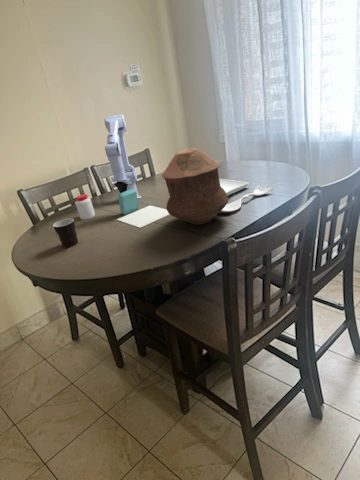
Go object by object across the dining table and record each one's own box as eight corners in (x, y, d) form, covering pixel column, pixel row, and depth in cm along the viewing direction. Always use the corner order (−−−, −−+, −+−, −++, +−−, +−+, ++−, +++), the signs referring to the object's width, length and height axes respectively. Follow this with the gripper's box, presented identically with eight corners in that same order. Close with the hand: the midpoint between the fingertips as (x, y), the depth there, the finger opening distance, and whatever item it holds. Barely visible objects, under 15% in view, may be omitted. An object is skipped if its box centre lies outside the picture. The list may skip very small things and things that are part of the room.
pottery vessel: (241, 222, 137) (233, 146, 125) (180, 240, 132) (165, 162, 120) (216, 205, 160) (207, 139, 148) (163, 219, 155) (149, 152, 143)
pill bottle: (98, 213, 180) (92, 193, 175) (90, 219, 173) (83, 198, 169) (85, 213, 182) (79, 194, 178) (77, 219, 176) (70, 199, 171)
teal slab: (120, 212, 172) (118, 194, 167) (133, 206, 177) (131, 188, 171) (125, 215, 170) (122, 196, 164) (138, 209, 174) (136, 191, 168)
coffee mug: (62, 241, 151) (55, 220, 147) (82, 238, 151) (75, 217, 147) (56, 253, 141) (48, 231, 137) (77, 249, 141) (70, 227, 137)
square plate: (214, 206, 160) (213, 198, 158) (175, 199, 180) (174, 192, 178) (250, 188, 175) (249, 181, 173) (211, 183, 195) (210, 176, 193)
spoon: (274, 193, 162) (274, 186, 161) (228, 217, 145) (227, 209, 144) (258, 191, 169) (258, 184, 168) (213, 214, 152) (212, 206, 150)
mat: (116, 220, 165) (116, 219, 165) (150, 205, 176) (150, 205, 176) (140, 228, 150) (140, 227, 150) (175, 212, 161) (175, 211, 161)
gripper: (103, 170, 169) (110, 196, 174) (118, 172, 158) (125, 200, 163) (115, 166, 172) (122, 192, 178) (131, 168, 162) (137, 196, 167)
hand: (124, 196), depth 171 cm, fingers closed
